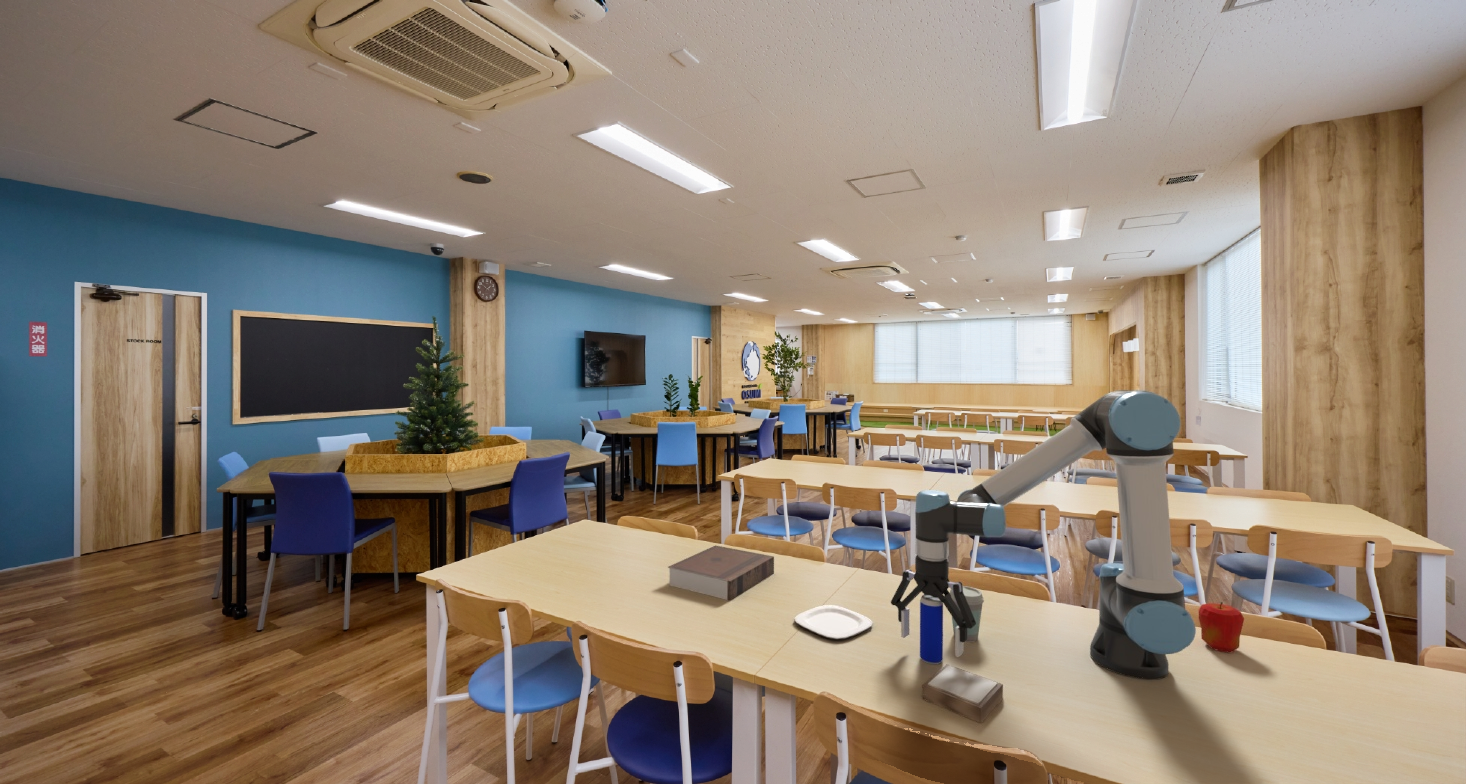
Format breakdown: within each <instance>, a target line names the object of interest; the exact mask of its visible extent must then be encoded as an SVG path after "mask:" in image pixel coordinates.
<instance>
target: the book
mask: <svg viewBox="0 0 1466 784" xmlns="http://www.w3.org/2000/svg"><path fill="white" fill-rule="evenodd" d="M667 568H668V569H669V586H671V587H674V588H675V587H676V588H679V589H683V590H687V591H689V592H690V591H691V592H695V593H700V594H703V595H707V596H710V597H711V596H712V597H716V598H720V599H724V600H726V601H729V602H731V601H733V600H734V599H737V598H738V597H739V596H741V595H743V594H744V593H746V592H747V591H748V590H750V589H752V588H753V587H755V586H757V585H758V584H760V583H762V582H763V581H765V580H767V579H768V578H770V577H771V576H773V575H774V574H775V556H773V555H768V554H763V553H758V552H752V551H746V550H743V549H736V548H732V547H726V546H720V545H713V546H711V547H709V548H707V549H704V550H702V551H700V552H698V553H695V554H693V555H691V556H688V557H687V558H684V559H682V560H680V561H677V562H676V563H673V564H671V565H668V566H667Z"/></svg>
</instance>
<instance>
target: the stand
mask: <svg viewBox="0 0 1466 784" xmlns="http://www.w3.org/2000/svg"><path fill="white" fill-rule="evenodd" d="M1003 690H1004V684H1003V683H1000V682H998V681H995V680H992V679H989V678H987V677H984V676H981V675H978V674H975V673H973V672H971V671H968V670H965V669H961V668H959V667H957V666H954V665H950V664H945V665H943V667H942V668H940V670H938V671H937V672H935V673H934V674H933V675H932V676H931V677H930V678H929V679H928V680H927V681H925V682H924V683H923V684H922V697H921V698H922V700H924V701H926V702H928V703H931V704H933V705H936V706H939V707H941V708H943V709H945V710H948V711H950V712H953V713H956V714H957V715H960V716H962V717H965V718H967V719H969V720H972V721H974V722H977V723H979V724H982V723H983V722H984V721H985V720H986V718H987V717H988V716H989V715H990V714H991V712H992V711H993V710H994V709H995V708H996V706H998V704H1000V702H1001V701H1002V700H1003V697H1004V693H1003V692H1004V691H1003Z"/></svg>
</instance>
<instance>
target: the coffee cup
mask: <svg viewBox="0 0 1466 784" xmlns="http://www.w3.org/2000/svg"><path fill="white" fill-rule="evenodd" d="M962 586H963V593H964V595H965V598H966V600H967V602H968V605H969V607H970V609H971V612H972V614H973V617H974V619H975V621H976V625H975V626H974V627H972V628H971V629H969V628H967V640H966V641H965V642H969V643H971V642H976V641H978V639H979V632H980V625H981V618H982V609H983V603H984V602H985V600H984V596H983V594H982V591H980V589H977V588H975V587H971V586H966V585H965V586H964V585H962ZM949 593H950V594H951V598H952V599H953V601H954V602H955V604H956V605H957V607H958V608H959V606H958V604H957V602H956V599H955V597H954V593H953V592H952V591H951V589H950V591H949ZM959 610H960V609H959ZM951 621H952V631H953V636H954V637H955V628H956V627H957V626H958V625H957V623H956V622H955V620H954V619H953V617H952V616H951Z"/></svg>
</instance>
